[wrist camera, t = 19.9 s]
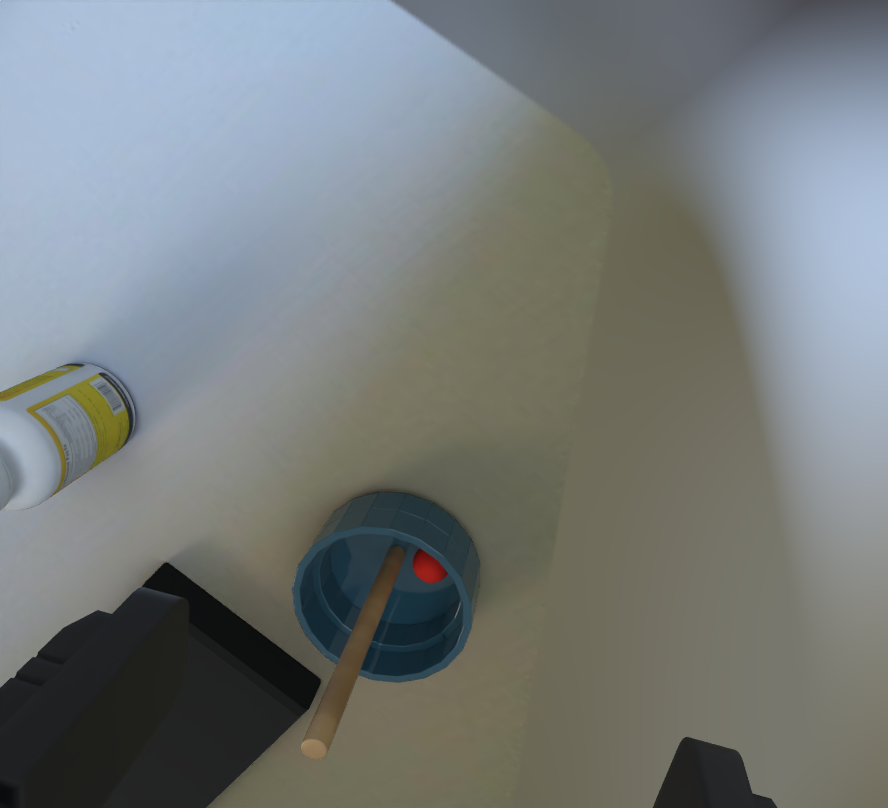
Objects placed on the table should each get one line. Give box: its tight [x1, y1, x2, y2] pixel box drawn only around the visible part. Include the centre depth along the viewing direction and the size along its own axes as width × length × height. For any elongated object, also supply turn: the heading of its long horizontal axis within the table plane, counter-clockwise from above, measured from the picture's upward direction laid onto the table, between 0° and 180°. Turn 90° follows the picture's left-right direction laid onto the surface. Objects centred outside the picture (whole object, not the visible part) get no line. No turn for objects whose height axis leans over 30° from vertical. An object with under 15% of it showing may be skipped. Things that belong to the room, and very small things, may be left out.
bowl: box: [292, 492, 480, 683], centre depth 44 cm, size 11×11×5 cm
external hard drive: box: [103, 563, 321, 808], centre depth 53 cm, size 14×23×3 cm, turn 141°
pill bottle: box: [0, 363, 135, 510], centre depth 40 cm, size 6×6×12 cm
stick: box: [301, 545, 406, 760], centre depth 38 cm, size 1×1×16 cm
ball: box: [413, 549, 448, 583], centre depth 44 cm, size 2×2×2 cm
